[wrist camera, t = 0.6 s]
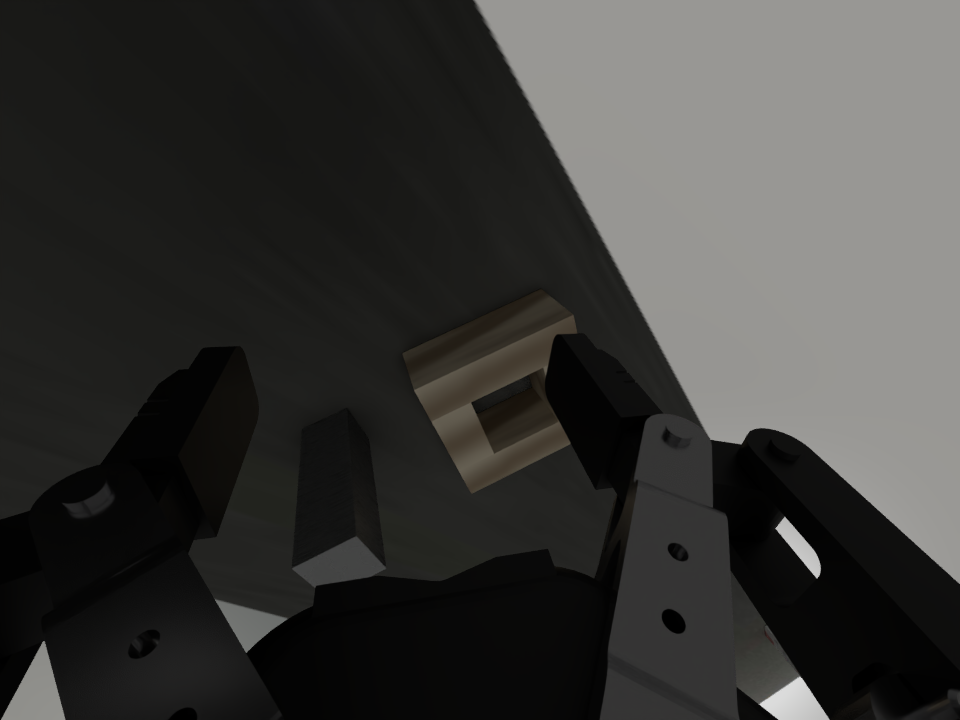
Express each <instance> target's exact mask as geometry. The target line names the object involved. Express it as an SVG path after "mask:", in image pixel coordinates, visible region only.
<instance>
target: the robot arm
mask: <svg viewBox="0 0 960 720" xmlns="http://www.w3.org/2000/svg"><path fill="white" fill-rule="evenodd" d="M545 392H546V397H547V399H548V402H549V403H550V405H551V407H552V409H553V411H554V413H555V415H556V417H557V418H558V420H559V422H560V424H561V426H562V428H563V430H564V432H565V433H566V435H567V437H568V439H569V441H570V443H571V445H572V446H573V448H574V450H575V452H576V454H577V456H578V458H579V460H580V461H581V463H582V465H583V467H584V469H585V471H586V473H587V475H588V476H589V478H590V480H591V482H592V484H593V486H594V488H595V489H596V490H598V489H605V488H614V490H615V492H616V493H617V495H616V497H615V500H614V503H613V507H612V511H611V515H610V519H609V523H608V528H607V532H606V536H605V540H604V544H603V549H602V553H601V557H600V561H599V565H598V568H597V572H596V575H595V578H592V577H590V576H588V575H585V574H582V573H580V572H577V571H574V570H570V569H566V568H562V567H555V566H554V564H553V562H552V559H551V556H550V553H549V551H548V549H544V550H538V551H531V552H525V553H519V554H513V555H506V556H500V557H495V558H493V559H491V560H488V561H486V562H484V563H482V564H479V565H477V566H475V567H473V568H470V569H468V570H466V571H464V572H462V573H459V574H457V575H455V576H453V577H450V578H448V579H446V580H443V581H427V580H417V579H406V578H396V577H386V576H373V577H367V578H361V579H354V580H348V581H342V582H335V583H329V584H323V585H317V586H316V588H315V596H314V604H313V606H312V607H310V608H308V609H305V610H303V611H301V612H300V613H298V614H296V615H294V616H292V617H291V618H289V619H287V620H286V621H284V622H283V623H282V624H280V625H279V626H277V627H276V628H274V629H273V630H272V631H270V632H269V633H268V634H267V635H266V636H264V637H263V638H262V639H261V640H260V641H258V642H257V643H256V644H255V645H254V646H253V647H252V648H251V649H250V650H249V651H248V652H247V653H246V652H245V651H244V649H243V648H242V645H241V644H240V642H239V640H238V639H237V637H236V635H235V633H234V632H233V630H232V628H231V627H230V625H229V623H228V622H227V620H226V618H225V616H224V615H223V613H222V611H221V610H220V608H219V606H218V605H217V603H216V601H215V599H214V598H213V596H212V594H211V592H210V591H209V589H208V587H207V586H206V584H205V582H204V580H203V579H202V577H201V575H200V574H199V572H198V570H197V569H196V567H195V565H194V563H193V562H192V560H191V558H190V557H189V555H188V552H189V550H190V547H191V545H192V542H193V540H197V539H205V538H213V537H216V536H217V534H218V531H219V528H220V525H221V522H222V519H223V517H224V514H225V511H226V508H227V505H228V503H229V500H230V497H231V494H232V491H233V488H234V486H235V483H236V480H237V477H238V474H239V471H240V469H241V466H242V463H243V460H244V457H245V454H246V452H247V449H248V446H249V443H250V440H251V438H252V435H253V432H254V429H255V426H256V423H257V420H258V412H259V406H258V398H257V394H256V390H255V387H254V384H253V380H252V377H251V373H250V370H249V366H248V363H247V359H246V356H245V353H244V351H243V349H242V348H241V347H240V346H233V347H208V348H203V349H202V350H201V351H200V352H199V354H198V355H197V357H196V358H195V360H194V361H193V363H192V364H191V366H190V368H189V369H184V370H178V371H176V372H175V373H174V374H172V375H171V376H169V377H168V378H166V379H165V380H164V381H162V382H161V383H159V384H158V386H157V387H156V388H155V390H154V391H153V393H152V394H151V395H150V397H149V398H148V399H147V401H148V402H147V403H145V404H144V405H143V406H142V408H141V409H140V410H139V412H138V417H134V419H133V420H132V422H131V423H130V424H129V426H128V427H127V428H126V430H125V431H124V433H123V434H122V435H121V437H120V438H119V440H118V441H117V442H116V444H115V445H114V446H113V448H112V449H111V451H110V452H109V453H108V455H107V456H106V457H105V459H104V460H103V462H102V463H101V464H100V465H97V466H93V467H90V468H86V469H84V470H81V471H78V472H76V473H74V474H72V475H70V476H68V477H66V478H64V479H62V480H61V481H59V482H58V483H56V484H55V485H53V486H52V487H50V488H49V489H48V490H47V491H45V492H44V493H43V494H42V495H41V496H40V497H39V498H38V499H37V500H36V502H35V503H34V504H33V506H32V508H31V510H30V511H28V512H24V513H21V514H18V515H14V516H11V517H8V518H4V519H1V520H0V720H1V718H2V717H3V715H4V713H5V711H6V709H7V707H8V705H9V703H10V701H11V700H12V698H13V696H14V694H15V692H16V691H17V689H18V687H19V685H20V683H21V681H22V679H23V678H24V675H25V674H26V672H27V670H28V668H29V666H30V665H31V662H32V661H33V659H34V657H35V655H36V653H37V651H38V650H39V648H40V646H41V644H42V642H43V641H45V644H46V647H47V651H48V655H49V659H50V663H51V666H52V670H53V674H54V678H55V682H56V685H57V689H58V693H59V696H60V700H61V704H62V708H63V711H64V716H65V719H66V720H778V719H777V718H775V717H774V716H773V715H772V714H770V713H769V712H768V711H766V710H765V709H764V708H763V707H761V706H760V705H759V704H758V703H756V702H755V701H754V700H753V699H751V698H750V697H749V696H747V695H746V694H745V693H744V692H742V691H741V690H740V689H739V688H737V687H736V670H735V651H734V631H733V612H732V593H731V574H730V570H731V572H732V573H733V575H734V576H735V578H736V579H737V581H738V582H739V584H740V585H741V587H742V588H743V590H744V591H745V593H746V594H747V596H748V597H749V599H750V600H751V602H752V603H753V605H754V606H755V608H756V609H757V611H758V612H759V614H760V615H761V617H762V618H763V620H764V621H765V623H766V624H767V626H768V627H769V629H770V630H771V632H772V633H773V635H774V636H775V638H776V639H777V641H778V642H779V644H780V645H781V647H782V648H783V650H784V651H785V653H786V654H787V656H788V657H789V659H790V660H791V662H792V663H793V665H794V666H795V668H796V670H797V671H798V673H799V674H800V676H801V677H802V679H803V680H804V682H805V683H806V685H807V686H808V688H809V689H810V690H811V692H812V693H813V695H814V697H815V698H816V700H817V701H818V703H819V704H820V705H821V707H822V709H823V710H824V712H825V713H826V715H827V716H828V718H829V719H830V720H960V584H959V583H958V582H957V581H956V580H954V579H953V578H952V577H951V576H950V575H949V574H948V573H947V572H946V571H945V570H943V569H942V568H941V567H940V566H939V565H938V564H937V563H936V562H935V561H933V560H932V559H931V558H930V557H929V556H928V555H927V554H926V553H925V552H924V551H922V550H921V549H920V548H919V547H918V546H917V545H916V544H915V543H914V542H912V541H911V540H910V539H909V538H908V537H907V536H906V535H905V534H904V533H902V532H901V531H900V530H899V529H898V528H897V527H896V526H895V525H894V524H893V523H892V522H890V521H889V520H888V519H887V518H886V517H885V516H884V515H883V514H882V513H881V512H879V511H878V510H877V509H876V508H875V507H874V506H873V505H872V504H871V503H870V502H868V501H867V500H866V499H865V498H864V497H863V496H862V495H861V494H860V493H858V492H857V491H856V490H855V489H854V488H853V487H852V486H851V485H850V484H848V483H847V482H846V481H845V480H844V479H843V478H842V477H841V476H839V474H838V473H836V472H835V471H834V470H833V469H832V468H831V467H830V466H829V465H828V464H827V463H825V462H824V461H823V460H822V459H821V458H820V457H819V456H818V455H816V454H815V453H814V452H813V451H812V450H811V449H810V448H809V447H807V446H806V445H805V444H803V443H802V442H800V441H799V440H797V439H795V438H794V437H792V436H790V435H787V434H785V433H782V432H779V431H776V430H771V429H765V428H760V429H754V430H752V431H750V432H749V433H748V435H747V436H746V438H745V440H744V441H743V443H742V445H740V444H734V443H727V442H721V441H714V440H710V438H709V437H708V435H707V434H706V433H705V432H704V431H703V430H702V429H701V428H700V427H699V426H697V425H696V424H694V423H693V422H691V421H689V420H687V419H685V418H682V417H679V416H675V415H671V414H663V412H662V411H661V410H660V409H659V408H658V407H657V405H656V404H655V403H654V402H653V401H652V400H651V399H650V397H649V396H648V395H647V394H646V393H645V392H644V390H643V389H642V388H641V387H640V386H639V385H638V383H635V380H634V379H633V378H632V376H631V375H630V374H629V373H627V372H626V370H625V368H624V367H623V366H622V365H621V364H620V363H619V361H618V360H617V359H616V358H614V357H612V356H611V355H609V354H608V353H606V352H604V351H603V350H597V348H596V347H595V346H594V345H593V343H592V342H591V341H590V340H589V339H588V337H587V336H586V335H585V334H583V333H575V334H557V335H556V336H555V337H554V340H553V343H552V348H551V353H550V358H549V363H548V368H547V373H546V378H545ZM784 517H786V518H787V519H788V520H789V522H790V523H791V524H792V525H793V526H794V527H795V529H796V530H797V531H798V532H799V533H800V534H801V535H802V537H804V539H805V540H806V541H807V542H808V544H809V545H810V546H811V547H812V548H813V549H814V551H815V552H816V554H817V556H818V558H819V561H820V565H821V573H820V576H819V577H818V578H817V579H816V577H815V576H814V575H813V574H812V572H811V571H810V570H809V569H808V568H807V566H806V565H805V564H804V563H803V562H802V560H801V559H800V558H799V557H798V556H797V554H796V553H795V552H794V551H793V549H792V548H791V547H790V546H789V545H788V543H787V542H786V541H785V540H784V539H783V538H782V536H781V535H780V534H779V533H778V531H777V530H776V529H775V528H776V527H777V526H778V524H779V523H780V522H781V521H782V519H783V518H784Z"/></svg>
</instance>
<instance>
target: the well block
mask: <svg viewBox="0 0 960 720" xmlns="http://www.w3.org/2000/svg"><path fill="white" fill-rule="evenodd" d="M575 333H577V330H576V325H575V320H574V316H573V314H572V313H571V312H569V311H568V310H567V309H566V308H564V307H563V306H562V305H561V304H559V303H558V302H557V301H556V300H554V299H553V298H552V297H551V296H549V295H548V294H547V293H546V292H544V291H543V290H542V289H540V290H537V291H535V292H533V293H531V294H529V295H527V296H525V297H522V298H520V299H518V300H516V301H514V302H512V303H509V304H507V305H505V306H503V307H501V308H499V309H497V310H494V311H492V312H490V313H488V314H486V315H484V316H481V317H479V318H477V319H475V320H473V321H471V322H469V323H466V324H464V325H462V326H460V327H458V328H456V329H453V330H451V331H449V332H447V333H445V334H443V335H440V336H438V337H436V338H434V339H432V340H430V341H428V342H425V343H423V344H421V345H419V346H417V347H415V348H412V349H410V350H408V351H406V352H404V353H402V354H403V357H404V361H405V364H406V367H407V370H408V373H409V376H410V379H411V382H412V385H413V388H414V391H415V393H416V395H417V396H418V398H419V400H420V402H421V404H422V405H423V407H424V409H425V411H426V413H427V414H428V416H429V418H430V420H431V422H432V423H433V425H434V427H435V429H436V431H437V432H438V434H439V436H440V438H441V440H442V441H443V443H444V445H445V447H446V449H447V450H448V452H449V454H450V456H451V458H452V459H453V461H454V463H455V465H456V467H457V468H458V470H459V472H460V474H461V476H462V477H463V479H464V481H465V483H466V485H467V486H468V488H469V490H470V492H471V494H472V493H474V492H476V491H478V490H480V489H482V488H484V487H486V486H488V485H490V484H492V483H494V482H496V481H498V480H500V479H502V478H504V477H506V476H508V475H510V474H512V473H514V472H516V471H518V470H520V469H522V468H524V467H526V466H527V465H529V464H531V463H533V462H535V461H537V460H539V459H541V458H543V457H545V456H547V455H549V454H551V453H553V452H555V451H557V450H559V449H561V448H563V447H565V446H567V445H569V444H571V443H570V441H569V439H568V437H567V435H566V433H565V432H564V430H563V428H562V426H561V424H560V422H559V420H558V418H557V417H556V415H555V413H554V411H553V409H552V407H551V405H550V403H549V402H548V399H547V397H546V392H545V378H546V373H547V368H548V363H549V358H550V353H551V348H552V343H553V340H554V337H555V336H556V335H557V334H575ZM527 375H529V378H530V381H531V384H532V388H530V389H527V390H525V391H523V392H521V393H519V394H517V395H515V396H513V397H511V398H509V399H507V400H505V401H503V402H501V403H499V404H497V405H495V406H493V407H490V408H488V409H486V410H484V411H482V412H480V413H478V414H476V413H475V411H474V408H473V406H472V404H471V402H473V401H475V400H477V399H479V398H481V397H483V396H485V395H487V394H489V393H492V392H494V391H496V390H498V389H500V388H502V387H504V386H506V385H508V384H510V383H512V382H514V381H516V380H518V379H521V378H523V377H525V376H527Z"/></svg>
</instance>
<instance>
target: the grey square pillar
mask: <svg viewBox="0 0 960 720" xmlns="http://www.w3.org/2000/svg"><path fill="white" fill-rule="evenodd" d="M292 569H293V570H294V571H295V572H297V573H298V574H299V575H300V576H301V577H303V578H304V579H305V580H306V581H308V582H309V583H310V584H311V585H312V586H314V587H315V588H316V586H317V585H323V584H329V583H335V582H342V581H348V580H354V579H361V578H367V577H371V576H372V575H374V574H376V573H378V572H380V571H382V570H384V569H386V562H385V554H384V547H383V539H382V532H381V524H380V517H379V509H378V502H377V495H376V487H375V480H374V472H373V465H372V457H371V450H370V443H369V438H368V437H367V436H366V434H365V433H364V431H363V430H362V429H361V427H360V426H359V424H358V423H357V421H356V420H355V419H354V417H353V416H352V414H351V413H350V412H349V410H348V409H347V408H346V409H344V410H342V411H340V412H337V413H335V414H333V415H331V416H329V417H327V418H325V419H323V420H320V421H318V422H316V423H314V424H312V425H310V426H308V427H306V428H303V429H302V437H301V450H300V464H299V477H298V491H297V504H296V517H295V531H294V544H293V557H292Z"/></svg>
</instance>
